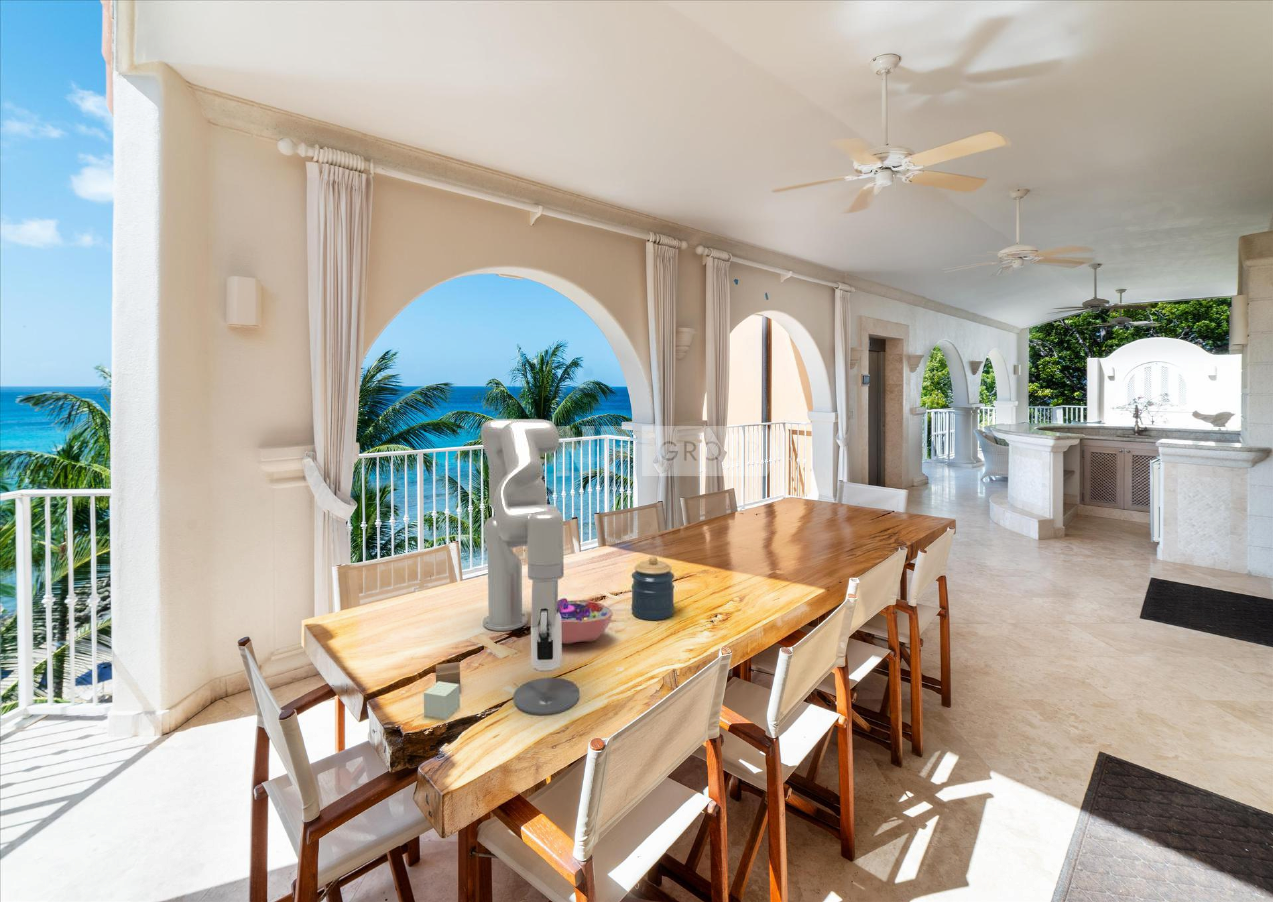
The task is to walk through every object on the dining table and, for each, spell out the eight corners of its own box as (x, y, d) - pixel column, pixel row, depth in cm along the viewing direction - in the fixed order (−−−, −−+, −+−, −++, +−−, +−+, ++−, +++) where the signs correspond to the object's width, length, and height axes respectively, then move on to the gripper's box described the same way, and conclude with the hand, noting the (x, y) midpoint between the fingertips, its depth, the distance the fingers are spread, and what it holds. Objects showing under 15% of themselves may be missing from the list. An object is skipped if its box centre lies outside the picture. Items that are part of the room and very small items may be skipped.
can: (563, 658, 125) (562, 605, 124) (560, 672, 118) (559, 616, 117) (533, 658, 125) (533, 605, 124) (529, 672, 118) (528, 616, 117)
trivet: (517, 682, 128) (517, 678, 128) (579, 680, 130) (579, 676, 130) (509, 716, 115) (509, 711, 115) (578, 713, 116) (578, 709, 116)
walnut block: (436, 686, 127) (435, 664, 126) (459, 683, 128) (459, 661, 128) (436, 697, 122) (435, 675, 122) (460, 693, 124) (460, 671, 123)
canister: (626, 608, 176) (626, 552, 175) (665, 603, 180) (665, 549, 179) (638, 623, 164) (639, 563, 162) (680, 618, 168) (681, 560, 166)
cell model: (603, 657, 142) (603, 613, 141) (528, 650, 146) (527, 607, 145) (619, 631, 158) (619, 591, 157) (551, 625, 162) (550, 586, 161)
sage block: (439, 703, 119) (438, 681, 119) (459, 707, 118) (459, 684, 118) (424, 716, 115) (423, 692, 114) (445, 720, 113) (445, 696, 113)
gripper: (532, 559, 128) (532, 636, 130) (523, 582, 111) (524, 671, 112) (565, 558, 129) (565, 635, 130) (561, 581, 112) (562, 669, 113)
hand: (546, 650), depth 121 cm, fingers closed on can, 6 cm apart
